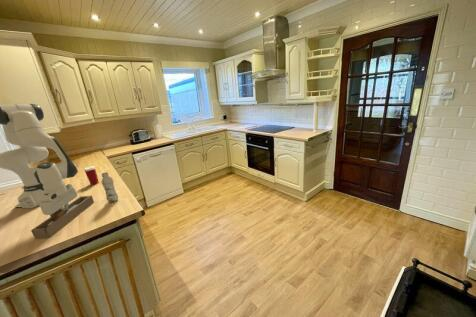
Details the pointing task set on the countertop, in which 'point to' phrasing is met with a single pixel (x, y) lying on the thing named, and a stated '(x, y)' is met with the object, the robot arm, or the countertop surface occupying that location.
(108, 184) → the plastic bottle
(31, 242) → the countertop surface
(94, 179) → the paper cup
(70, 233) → the countertop surface
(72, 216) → the long grey tray
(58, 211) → the block
